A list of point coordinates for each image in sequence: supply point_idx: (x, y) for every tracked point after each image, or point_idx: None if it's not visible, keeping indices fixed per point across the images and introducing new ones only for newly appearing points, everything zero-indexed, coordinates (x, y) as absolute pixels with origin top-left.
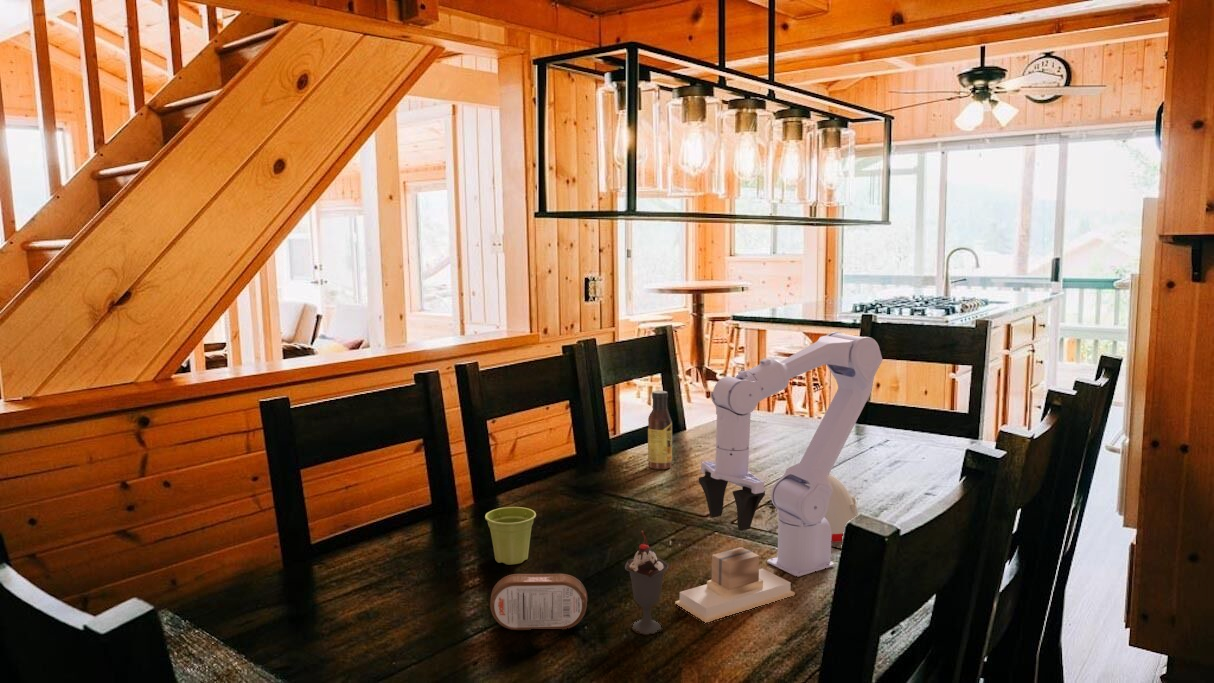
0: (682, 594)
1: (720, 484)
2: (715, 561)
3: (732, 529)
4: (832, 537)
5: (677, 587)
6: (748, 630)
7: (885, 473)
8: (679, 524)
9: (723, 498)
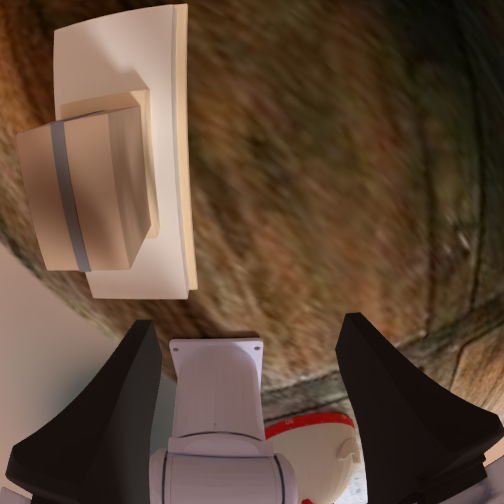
0: (158, 6)
1: (383, 472)
2: (93, 115)
3: (407, 358)
4: (265, 435)
5: (278, 72)
6: (10, 107)
7: (351, 486)
8: (482, 300)
9: (355, 416)
